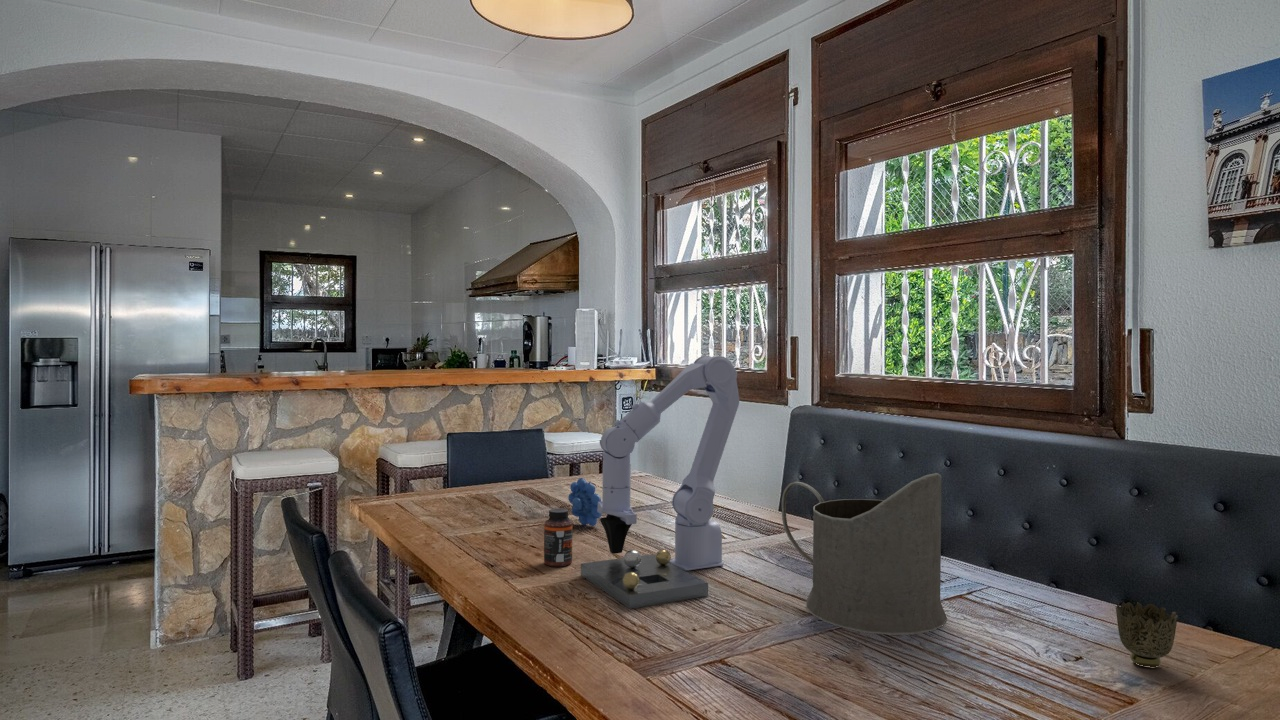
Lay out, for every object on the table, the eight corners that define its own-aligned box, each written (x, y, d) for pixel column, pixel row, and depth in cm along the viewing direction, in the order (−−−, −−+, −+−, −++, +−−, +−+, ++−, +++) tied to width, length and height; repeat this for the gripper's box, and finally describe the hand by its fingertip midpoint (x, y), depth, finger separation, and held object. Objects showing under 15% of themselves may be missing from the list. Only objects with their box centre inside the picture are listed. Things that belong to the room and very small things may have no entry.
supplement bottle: (567, 568, 157) (567, 513, 156) (539, 566, 158) (540, 512, 158) (575, 560, 162) (576, 507, 162) (549, 559, 164) (549, 506, 163)
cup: (1103, 655, 113) (1103, 601, 113) (1149, 653, 113) (1150, 600, 113) (1140, 676, 105) (1141, 619, 105) (1190, 675, 106) (1190, 617, 106)
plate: (651, 565, 159) (651, 554, 159) (708, 595, 139) (708, 582, 139) (580, 575, 152) (580, 563, 152) (629, 608, 132) (629, 595, 132)
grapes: (557, 524, 196) (557, 478, 196) (576, 520, 201) (576, 475, 201) (588, 531, 189) (588, 483, 188) (607, 527, 193) (607, 480, 193)
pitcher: (900, 646, 116) (901, 482, 116) (742, 595, 140) (743, 459, 140) (971, 612, 131) (972, 468, 131) (818, 572, 155) (819, 449, 155)
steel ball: (636, 564, 151) (636, 547, 151) (644, 568, 148) (644, 551, 148) (620, 566, 150) (621, 549, 150) (628, 570, 147) (628, 553, 147)
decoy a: (666, 562, 153) (666, 547, 153) (673, 565, 150) (673, 550, 150) (652, 563, 152) (653, 548, 152) (660, 567, 149) (660, 552, 149)
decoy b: (634, 585, 137) (634, 568, 137) (642, 590, 135) (642, 573, 135) (619, 587, 136) (619, 571, 136) (627, 592, 133) (627, 575, 133)
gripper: (584, 482, 160) (584, 546, 160) (613, 493, 147) (613, 563, 147) (614, 479, 163) (614, 542, 163) (646, 490, 150) (645, 559, 151)
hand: (616, 552), depth 156 cm, fingers closed
